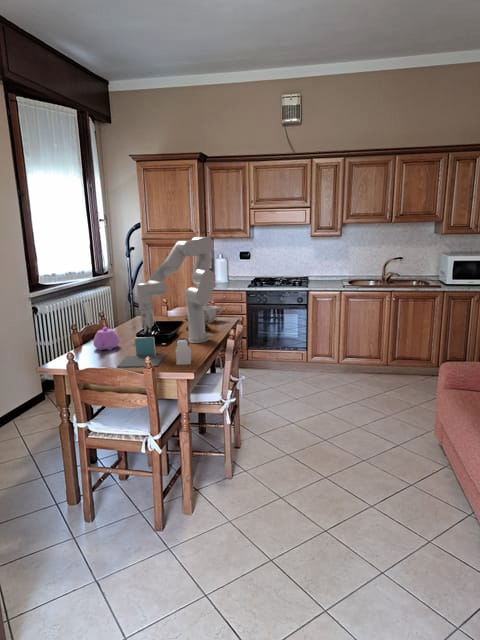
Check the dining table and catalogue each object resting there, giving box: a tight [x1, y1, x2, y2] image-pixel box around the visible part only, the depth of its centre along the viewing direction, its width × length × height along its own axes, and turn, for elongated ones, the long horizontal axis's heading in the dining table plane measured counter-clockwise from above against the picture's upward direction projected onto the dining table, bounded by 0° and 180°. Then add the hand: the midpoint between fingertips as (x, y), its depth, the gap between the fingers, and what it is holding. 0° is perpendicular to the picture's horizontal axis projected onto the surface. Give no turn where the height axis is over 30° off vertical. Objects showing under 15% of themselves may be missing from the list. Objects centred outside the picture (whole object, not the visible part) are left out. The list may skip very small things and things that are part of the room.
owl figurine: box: [183, 310, 212, 333], centre depth 283 cm, size 18×12×17 cm, turn 65°
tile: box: [134, 336, 157, 356], centre depth 232 cm, size 10×2×10 cm, turn 88°
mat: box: [116, 354, 165, 368], centre depth 224 cm, size 20×17×1 cm
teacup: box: [203, 305, 223, 323], centre depth 305 cm, size 12×15×10 cm
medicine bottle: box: [175, 338, 192, 366], centre depth 219 cm, size 7×7×12 cm
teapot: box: [93, 326, 120, 352], centre depth 248 cm, size 20×14×12 cm
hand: (148, 339), depth 240 cm, fingers closed
